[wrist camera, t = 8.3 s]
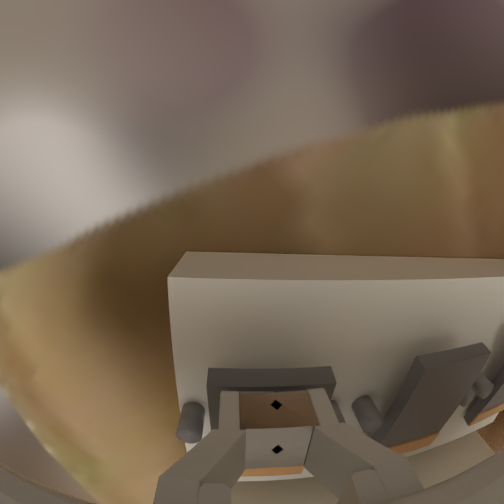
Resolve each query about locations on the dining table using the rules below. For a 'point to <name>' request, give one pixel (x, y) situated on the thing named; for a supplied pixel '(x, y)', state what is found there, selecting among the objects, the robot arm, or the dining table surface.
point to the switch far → (488, 402)
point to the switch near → (265, 382)
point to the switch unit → (335, 342)
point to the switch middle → (430, 396)
